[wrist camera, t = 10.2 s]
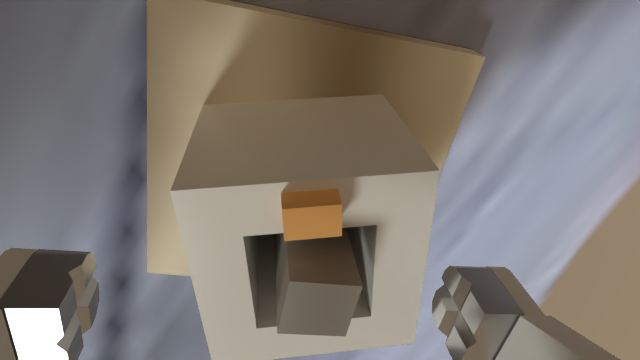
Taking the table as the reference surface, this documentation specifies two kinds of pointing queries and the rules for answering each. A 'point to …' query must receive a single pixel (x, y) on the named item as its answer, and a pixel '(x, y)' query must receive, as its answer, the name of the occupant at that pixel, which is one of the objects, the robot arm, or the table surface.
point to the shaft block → (287, 84)
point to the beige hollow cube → (303, 216)
